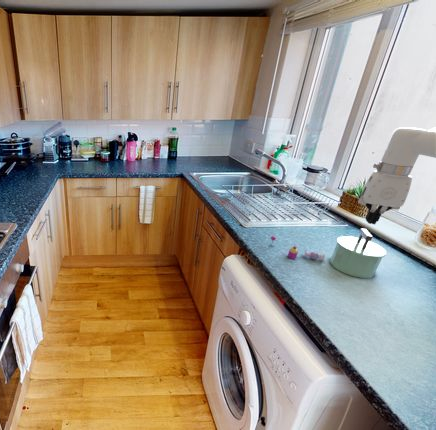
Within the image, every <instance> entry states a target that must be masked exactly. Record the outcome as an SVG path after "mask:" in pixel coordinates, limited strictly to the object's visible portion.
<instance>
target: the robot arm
mask: <svg viewBox="0 0 436 430" xmlns="http://www.w3.org/2000/svg"><path fill="white" fill-rule="evenodd" d="M419 156H425V157H429V158H434V159H436V126H434V127H432V128H430V129H427V130H426V129H424V128H419V127H409V126H408V127H407V126H404V127H403V126H402V127H398V128H396V129H394V130H393V132H392V134H391V137H390V138H389V142H388V144H387V146H386V149H385V150H384V153H383V155H382V157H381V159H380V161H379V163H374V164H373V165H372V167H373V169H376V170H374V171H373V172H372V173H371V175H370V176H369V178H368V179H367V181H366V182H365V184H364V186H363V189H362V190H361V193H360V198H359V199H358V201H357V203H358V204H359V205H362V206H363V207H366V208H367V210H368V212H367V213H366V216H365V221H366V222H367V224H369V225H371V224H372V225H376V224H377V223H378V222H379V220H380V218H381V217H382V215H383V214H385V213H386V212H388V211H391V210H400V208H401V207H403V206H404V204H405V203H406V200H407V198H408V195H409V192H410V190H411V185H412V182H413V176H412V175H411V172H412V171H413V168H414V166H415V164H416V162H417V160H418V158H419Z"/></svg>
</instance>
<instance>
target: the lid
mask: <svg viewBox="0 0 436 430" xmlns="http://www.w3.org/2000/svg"><path fill="white" fill-rule="evenodd" d="M372 239H373V235H372V234H371V232H369V230H367V228H360V229H359V236H358V237H357V236H356V237H355V236H347V235H345V236H343V235H341V236H339V237H337V239H336V245H337V244H338V245H339V246H341V247H342V248H344V249H345V250H347V251H350V252H352V253H355V254H358V255H361V256H366V257H372V258H381V257H382V258H384V257H385V256H386V255H387V251H386V249H385V248H383V247H382V246H381V245H379V244H377V243H376V242H372Z"/></svg>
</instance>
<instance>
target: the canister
mask: <svg viewBox="0 0 436 430" xmlns="http://www.w3.org/2000/svg"><path fill="white" fill-rule="evenodd" d="M382 259H383V257H381V258H372V257H366V256H361V255H358V254H355V253H352V252H350V251H347V250H345V249H344V248H342V247H341V246H339V245H338V244H337V243H336V245H335V247H334V250H333V252H332V255H331V257H330V260H329V262H330V264H331V266H332V267H333V268H335V269H336V270H337V271H339V272H341V273H344V274H345V275H348V276H352V277H355V278H361V279H371V278H372V277H374V276H375V273H376V271H377V270H378V267H379V266H380V263H381V261H382Z"/></svg>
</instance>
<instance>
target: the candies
mask: <svg viewBox="0 0 436 430" xmlns="http://www.w3.org/2000/svg"><path fill="white" fill-rule="evenodd" d="M276 239H277V237H276V236H275V235H272V236H271V237H270V240H271V243H270V246H271V247H272V246H273V242H274V241H276ZM297 248H298V247H297V246H296V243H295V242H294V245H293V246H292V247H291V248H290V249H289V250H288V253H287V257H288V258H289V259H291V260H294V259H297V257H298V253H299V250H298V249H297ZM303 257H304V258H307V257H309V258H310V259H311V260H317V259H318V260H320V261H322V262H324V260H325V254H324V253H321V254H319V253H318V252H317V251H311V252H310V251H308V250H307V249H306V250H304V255H303Z"/></svg>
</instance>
